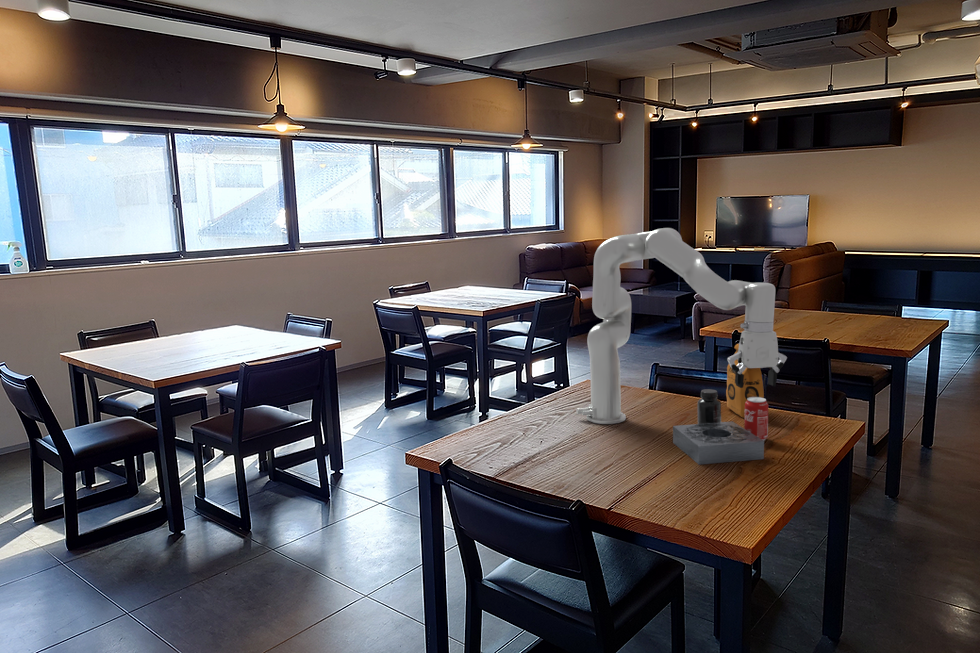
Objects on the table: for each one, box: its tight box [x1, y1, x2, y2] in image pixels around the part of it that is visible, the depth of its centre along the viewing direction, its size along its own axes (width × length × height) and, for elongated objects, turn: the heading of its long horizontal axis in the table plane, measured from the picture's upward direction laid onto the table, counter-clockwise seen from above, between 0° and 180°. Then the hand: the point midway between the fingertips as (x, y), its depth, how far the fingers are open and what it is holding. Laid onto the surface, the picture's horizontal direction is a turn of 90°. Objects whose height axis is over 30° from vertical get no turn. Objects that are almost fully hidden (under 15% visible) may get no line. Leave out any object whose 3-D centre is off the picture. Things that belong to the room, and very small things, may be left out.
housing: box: [672, 420, 765, 466], centre depth 189 cm, size 18×18×5 cm
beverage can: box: [743, 397, 769, 442], centre depth 196 cm, size 6×6×12 cm
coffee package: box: [725, 343, 765, 419], centre depth 221 cm, size 10×12×22 cm
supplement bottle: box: [697, 388, 722, 424], centre depth 207 cm, size 7×7×12 cm
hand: (755, 385), depth 195 cm, fingers open, 9 cm apart
